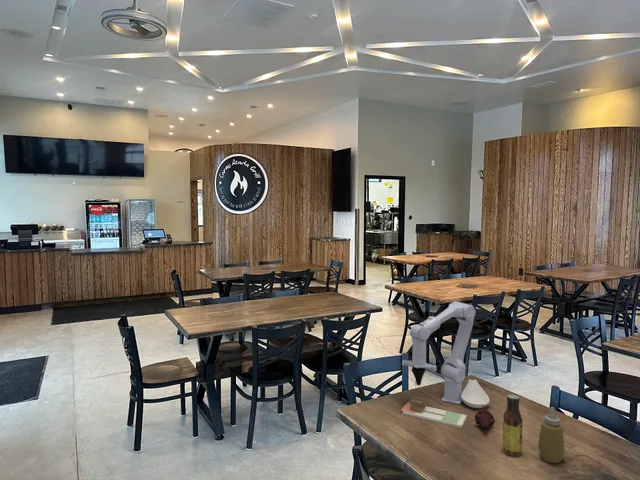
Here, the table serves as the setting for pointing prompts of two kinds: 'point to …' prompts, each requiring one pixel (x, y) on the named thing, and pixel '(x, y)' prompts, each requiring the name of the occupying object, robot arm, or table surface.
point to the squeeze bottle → (551, 438)
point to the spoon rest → (474, 395)
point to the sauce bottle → (512, 427)
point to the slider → (417, 404)
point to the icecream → (484, 418)
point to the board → (437, 415)
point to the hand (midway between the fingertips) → (418, 384)
